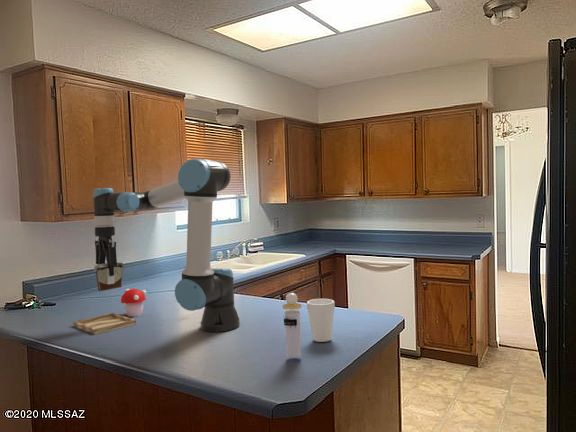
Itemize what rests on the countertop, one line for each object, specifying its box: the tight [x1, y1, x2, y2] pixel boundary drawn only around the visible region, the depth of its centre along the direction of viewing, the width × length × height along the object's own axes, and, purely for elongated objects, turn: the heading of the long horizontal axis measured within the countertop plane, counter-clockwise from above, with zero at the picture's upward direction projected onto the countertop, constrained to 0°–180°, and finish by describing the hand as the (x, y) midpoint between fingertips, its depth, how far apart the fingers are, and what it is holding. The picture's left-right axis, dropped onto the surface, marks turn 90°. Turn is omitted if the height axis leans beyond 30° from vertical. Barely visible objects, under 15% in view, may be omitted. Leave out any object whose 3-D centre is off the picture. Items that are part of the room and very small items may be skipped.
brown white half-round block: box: [93, 262, 125, 292], centre depth 182 cm, size 12×6×10 cm, turn 141°
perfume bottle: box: [282, 292, 302, 358], centre depth 138 cm, size 6×6×20 cm
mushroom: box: [120, 288, 147, 318], centre depth 200 cm, size 11×11×12 cm
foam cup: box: [306, 298, 336, 343], centre depth 155 cm, size 10×9×13 cm
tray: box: [72, 312, 137, 335], centre depth 185 cm, size 20×17×2 cm
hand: (106, 282), depth 183 cm, fingers closed on brown white half-round block, 6 cm apart
